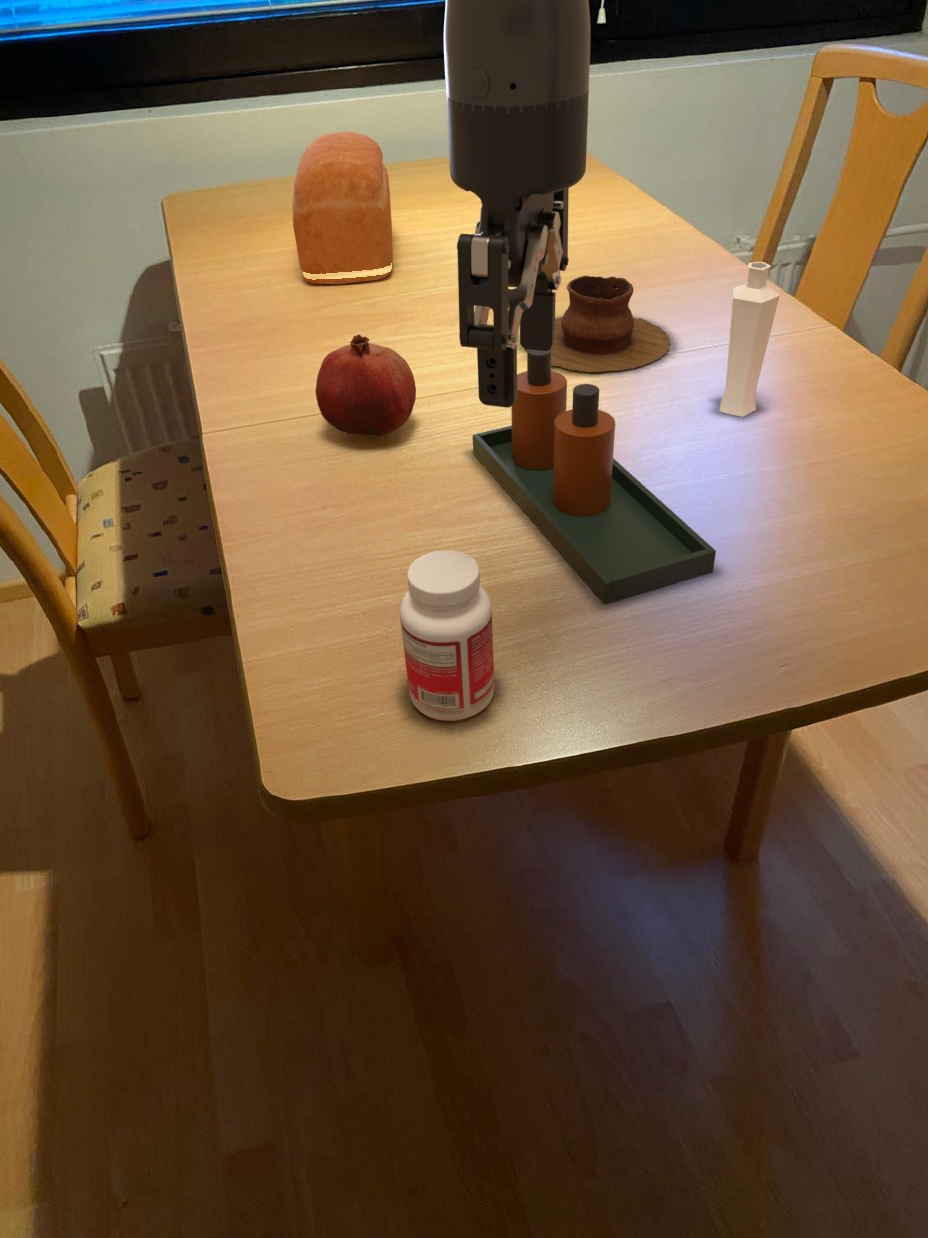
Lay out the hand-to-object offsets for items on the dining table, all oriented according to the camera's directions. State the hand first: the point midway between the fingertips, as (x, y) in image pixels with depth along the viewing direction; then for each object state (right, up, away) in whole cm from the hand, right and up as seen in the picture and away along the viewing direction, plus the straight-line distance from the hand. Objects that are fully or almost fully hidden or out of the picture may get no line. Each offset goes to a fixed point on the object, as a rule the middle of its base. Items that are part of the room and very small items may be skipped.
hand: (518, 374), depth 59 cm
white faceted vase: (+26, +7, +40) cm, 48 cm away
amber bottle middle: (+7, -5, +26) cm, 27 cm away
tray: (+7, -5, +26) cm, 28 cm away
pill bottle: (-4, -21, +8) cm, 23 cm away
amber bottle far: (+4, 0, +32) cm, 33 cm away
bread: (-21, +40, +84) cm, 96 cm away
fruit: (-13, +4, +40) cm, 42 cm away
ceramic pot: (+13, +18, +55) cm, 59 cm away
